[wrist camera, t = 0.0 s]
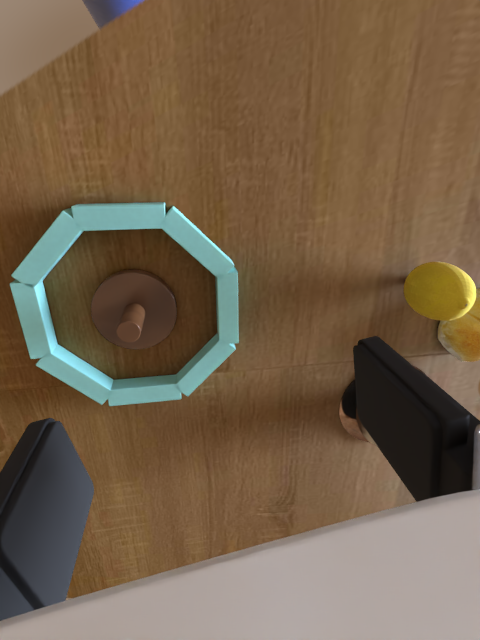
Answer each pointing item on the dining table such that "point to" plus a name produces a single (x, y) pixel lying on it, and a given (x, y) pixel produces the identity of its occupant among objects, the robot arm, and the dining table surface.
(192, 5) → the dining table surface
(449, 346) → the bread roll
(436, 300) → the lemon
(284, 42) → the dining table surface
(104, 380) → the ring
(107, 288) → the post
